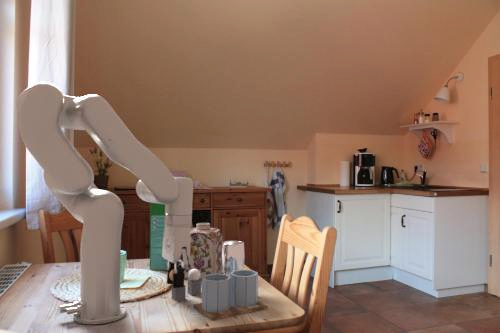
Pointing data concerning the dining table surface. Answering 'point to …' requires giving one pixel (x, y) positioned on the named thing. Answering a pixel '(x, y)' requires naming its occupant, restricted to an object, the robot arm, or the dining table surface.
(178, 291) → the stand
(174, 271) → the terracotta ball
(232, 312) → the rack board
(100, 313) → the robot arm
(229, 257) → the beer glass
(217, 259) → the decorative jar
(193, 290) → the stand
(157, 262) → the milk carton
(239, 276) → the tubes
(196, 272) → the ivory ball
